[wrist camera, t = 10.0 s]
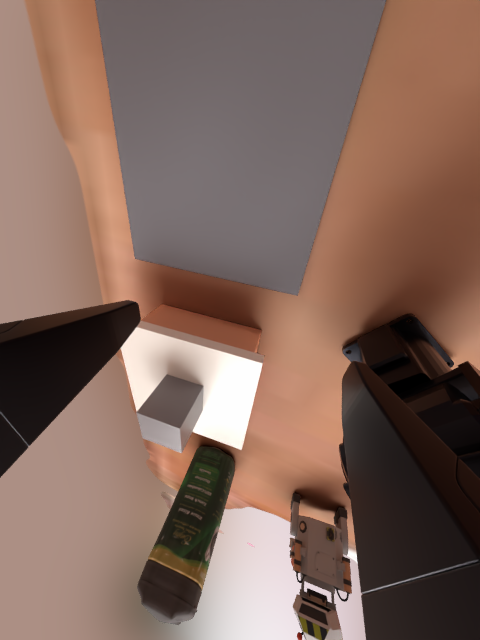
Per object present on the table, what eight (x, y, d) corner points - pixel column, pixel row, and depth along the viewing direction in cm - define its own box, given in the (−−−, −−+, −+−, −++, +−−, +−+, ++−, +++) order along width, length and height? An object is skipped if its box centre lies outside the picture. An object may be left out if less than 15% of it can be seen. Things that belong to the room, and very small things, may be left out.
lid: (264, 355, 18) (249, 411, 13) (243, 441, 25) (229, 495, 21) (122, 315, 20) (67, 350, 16) (141, 405, 28) (109, 446, 23)
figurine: (287, 511, 43) (278, 638, 31) (294, 486, 37) (287, 631, 25) (335, 527, 41) (345, 671, 29) (350, 504, 35) (371, 671, 23)
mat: (429, -148, 9) (434, -161, 8) (297, 294, 19) (297, 295, 19) (83, -107, 11) (77, -116, 11) (137, 257, 22) (135, 258, 22)
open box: (261, 330, 23) (251, 360, 18) (246, 400, 29) (236, 434, 25) (162, 304, 25) (132, 326, 20) (168, 374, 31) (147, 402, 27)
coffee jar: (195, 438, 39) (120, 599, 23) (237, 452, 37) (185, 635, 22) (199, 464, 44) (139, 610, 28) (235, 477, 42) (192, 639, 27)
